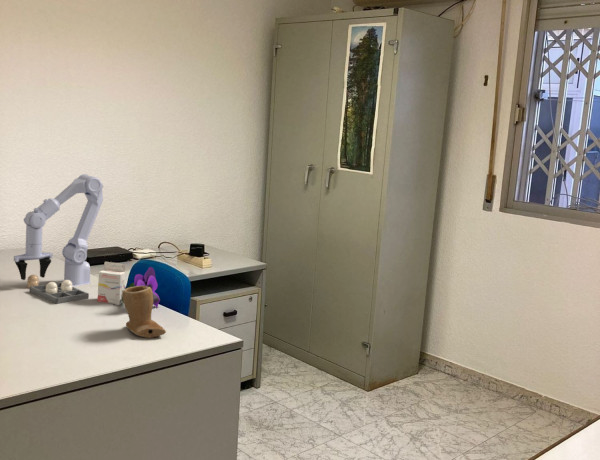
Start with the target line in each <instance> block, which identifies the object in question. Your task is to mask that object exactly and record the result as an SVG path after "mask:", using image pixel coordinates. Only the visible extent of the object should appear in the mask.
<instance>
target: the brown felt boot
mask: <svg viewBox="0 0 600 460" xmlns="http://www.w3.org/2000/svg"><path fill="white" fill-rule="evenodd" d="M122 296H123V302H122V304H123V305H124V308H125V309H126V312H127V314H128V316H127V317H128V319H129V320H128V321H127V322H125V326H126V328H127V329H128V330H129V331H130V332H132V333H133V334H135V336H139V337H142V338H148V339H152V338H157V337H160V336H162V335H165V334H166V333H167V330H166V329H165V328H163V326H161V325H160V324H159V323H158V322H156V321H155V320H153V319H152V312H153V308H154V307H153V306H154V305H153V292H152V289H151V288H150V287H147V286H135V287H129V288H124V290H123V293H122Z"/></svg>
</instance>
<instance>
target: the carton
mask: <svg viewBox="0 0 600 460" xmlns="http://www.w3.org/2000/svg"><path fill="white" fill-rule="evenodd" d="M55 283H56V284H57V293H52V294H47V293H46V285H47V284H48V283H46V284H39V285H38V286H31V287H30V289H29V292H30V293H31V294H34V295H36V296H37V297H39V298H42V299H44V300H46V301H49V302H51V303H53V304H55V305H58V304H60V305H61V304H66V303H71V302H76V301H77V302H78V301H83V300H84V301H85V300H89V297H90V296H89V295H90V293H89V292H86V291H85V290H81V289H79V288H77V287H75V286H72V290H71V291H65V292H64V291H61V283H62V281H58V282H55Z"/></svg>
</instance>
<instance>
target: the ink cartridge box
mask: <svg viewBox="0 0 600 460" xmlns="http://www.w3.org/2000/svg"><path fill="white" fill-rule="evenodd" d="M103 266H104V269H103V270H100V271H99V272H98V284H97V286H98V288H97V302H99V303H107V304H112V305H113V306H115V305H116V306H120V305H122V304H123V301H122V300H121V299H122V293H123V290H125V289H126V288H125V285H126V264H124V263H119V262H114V261H113V262H112V261H110V262H109V261H104V265H103ZM114 266H116V267H114Z"/></svg>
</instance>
